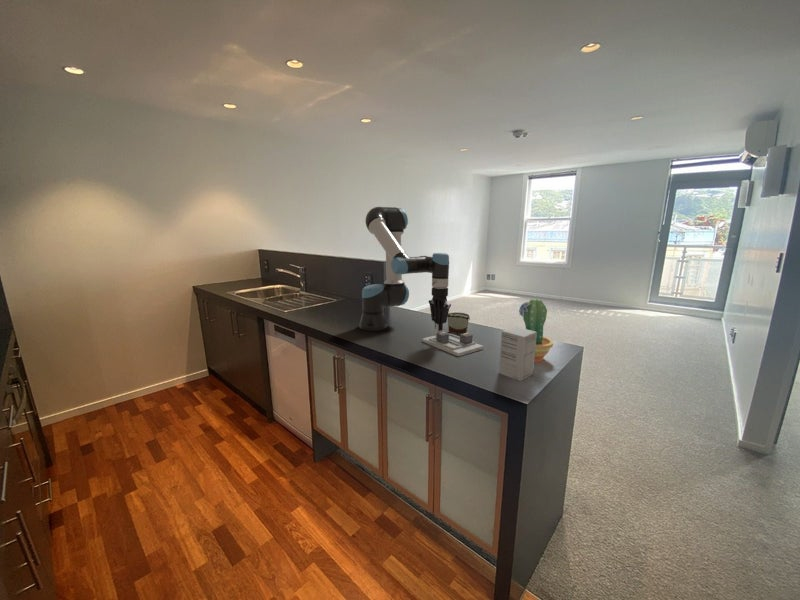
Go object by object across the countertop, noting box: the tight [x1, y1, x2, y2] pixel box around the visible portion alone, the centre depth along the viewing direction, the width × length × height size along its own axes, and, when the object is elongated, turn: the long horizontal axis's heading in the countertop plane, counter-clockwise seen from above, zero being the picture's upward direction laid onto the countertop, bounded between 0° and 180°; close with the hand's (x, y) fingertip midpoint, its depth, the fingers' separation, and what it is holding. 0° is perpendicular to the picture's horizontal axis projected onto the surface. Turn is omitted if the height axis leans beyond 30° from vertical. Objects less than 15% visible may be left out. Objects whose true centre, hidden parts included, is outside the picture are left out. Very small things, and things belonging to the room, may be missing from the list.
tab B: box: [459, 332, 473, 344], centre depth 154 cm, size 4×4×5 cm
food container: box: [447, 311, 471, 335], centre depth 176 cm, size 12×6×10 cm, turn 65°
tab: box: [436, 331, 450, 344], centre depth 155 cm, size 4×4×5 cm
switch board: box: [422, 332, 484, 357], centre depth 156 cm, size 24×16×2 cm, turn 36°
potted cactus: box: [518, 298, 554, 363], centre depth 139 cm, size 15×15×25 cm
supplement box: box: [498, 326, 537, 382], centre depth 124 cm, size 10×9×17 cm
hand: (438, 336), depth 158 cm, fingers closed
